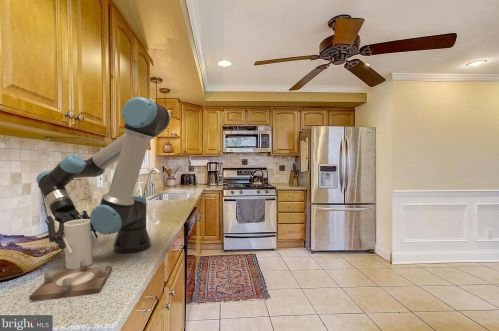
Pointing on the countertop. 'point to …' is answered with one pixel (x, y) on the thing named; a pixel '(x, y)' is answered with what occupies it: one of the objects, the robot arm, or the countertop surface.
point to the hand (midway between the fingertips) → (84, 250)
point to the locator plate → (72, 282)
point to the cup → (78, 242)
